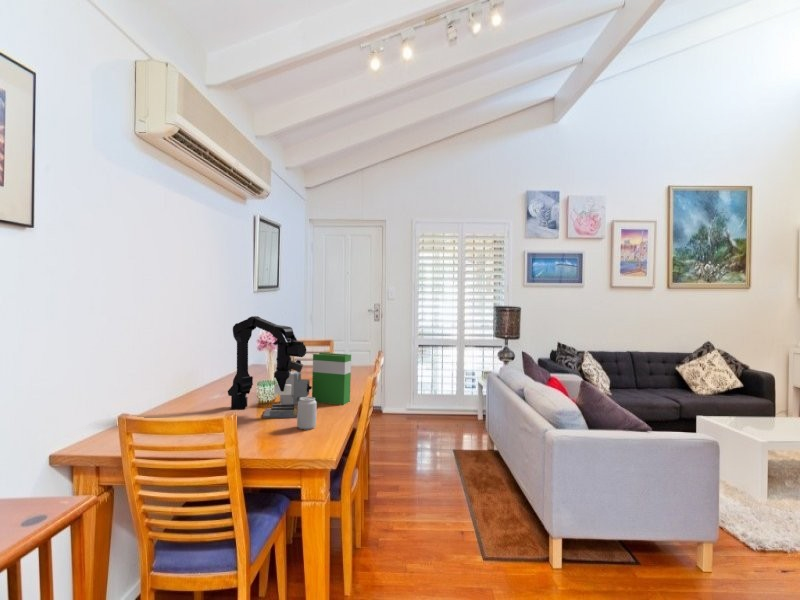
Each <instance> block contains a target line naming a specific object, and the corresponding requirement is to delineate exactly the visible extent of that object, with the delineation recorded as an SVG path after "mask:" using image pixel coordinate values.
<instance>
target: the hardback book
mask: <svg viewBox="0 0 800 600" xmlns="http://www.w3.org/2000/svg"><path fill="white" fill-rule="evenodd" d="M351 377H352V354H347V353H335V352H334V353H332V352H330V353H329V352H319V353H313V354H312V379H311V380H312V382H311V383H312V384H311V386H312V389H311V397H314V398H315V401H316V402H317V403H320V404H321V403H322V404H329V405H330V404H331V405H332V404H333V405H339V404H341V406H344V404H345V405H347V404H349V403H351ZM348 402H349V403H348ZM346 403H347V404H346Z"/></svg>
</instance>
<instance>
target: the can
mask: <svg viewBox="0 0 800 600" xmlns="http://www.w3.org/2000/svg"><path fill="white" fill-rule="evenodd" d="M317 404H318V402H316V401H315V398H314V397H312V396H307V397H300V400H299V402H298V404H297V408H298V411H297V418H296V421H297V423H296V426H297V428H299V429H300V430H302V429H304V430H303V431H308V430H312V429H314V428H315V427H316V426H317Z"/></svg>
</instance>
